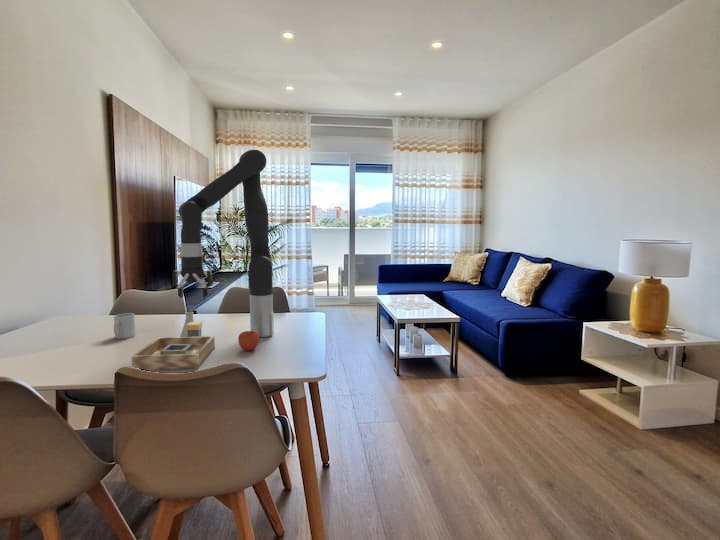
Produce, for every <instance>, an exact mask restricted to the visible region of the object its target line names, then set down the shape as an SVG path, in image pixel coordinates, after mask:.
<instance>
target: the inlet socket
mask: <svg viewBox="0 0 720 540" xmlns="http://www.w3.org/2000/svg"><path fill="white" fill-rule="evenodd" d="M192 352H193V350H192V344H169V345H167V346H166V347H165V348H164V349H162V350H161V351H160V355H173V354H191V353H192Z"/></svg>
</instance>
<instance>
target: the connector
mask: <svg viewBox="0 0 720 540" xmlns="http://www.w3.org/2000/svg"><path fill="white" fill-rule="evenodd" d="M202 328H203V322H202V321H194V322H189V323H188V324H187V325H186V330H187V333H188V337H203V336H202Z"/></svg>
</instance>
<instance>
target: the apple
mask: <svg viewBox="0 0 720 540" xmlns="http://www.w3.org/2000/svg"><path fill="white" fill-rule="evenodd" d="M252 330H253V329H252ZM237 340H238V341H237V342H238V343H239V344H238V345H239V346H240V348H241V349H242V350H244V351H246V352H250V351H253V350H254V349H256V348H257V347H258V344H259V342H260V337H259V335H258V334H257V333H256V332H254V331H250V330H246V331H242V332H240V333H239V335H238V339H237Z"/></svg>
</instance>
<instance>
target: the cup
mask: <svg viewBox="0 0 720 540" xmlns="http://www.w3.org/2000/svg"><path fill="white" fill-rule="evenodd" d="M135 319H136V318H135V313H132V312H129V313H127V312H126V313H118V314H115V315H114V316H113V322H114V324H113V333H114V337H115V339H117V338H118V340H124V339H131V338H134V337H135V336H136V320H135Z"/></svg>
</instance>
